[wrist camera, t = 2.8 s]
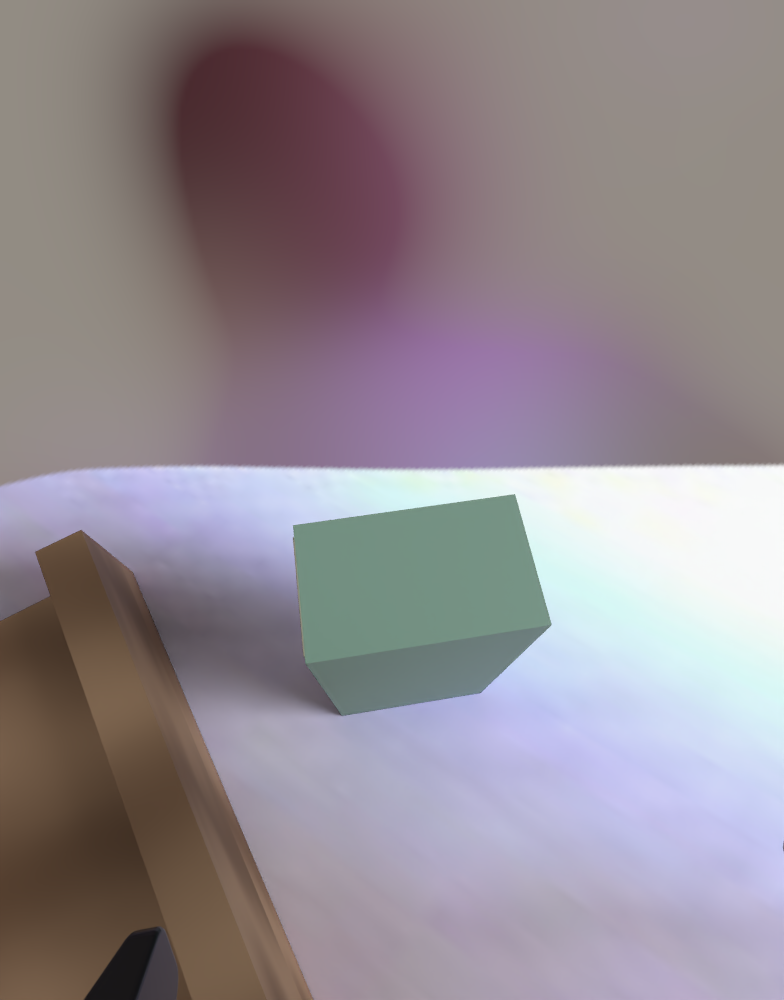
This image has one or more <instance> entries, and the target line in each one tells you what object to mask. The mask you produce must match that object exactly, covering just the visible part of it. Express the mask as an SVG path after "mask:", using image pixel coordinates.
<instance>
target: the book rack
mask: <svg viewBox="0 0 784 1000" xmlns="http://www.w3.org/2000/svg"><path fill="white" fill-rule="evenodd" d="M35 553H36V556H37V559H38V562H39V565H40V567H41V570H42V573H43V576H44V579H45V582H46V585H47V587H48V590H49V593H50V597H48V598H46V599H44V600H42V601H40V602H38V603H36V604H34V605H32V606H30V607H28V608H26V609H24V610H22V611H20V612H18V613H16V614H14V615H12V616H10V617H8V618H6V619H4V620H2V621H0V1000H84V998H85V997H86V995H87V994H88V992H89V991H90V990H91V988H92V987H93V985H94V984H95V982H96V981H97V979H98V978H99V977H100V975H101V974H102V972H103V971H104V969H105V968H106V966H107V965H108V964H109V962H110V961H111V959H112V958H113V956H114V955H115V953H116V952H117V950H118V949H119V948H120V946H121V945H122V943H123V942H124V940H125V939H126V938H127V937H128V936H129V935H130V934H131V933H132V932H134V931H136V930H141V929H146V928H151V927H157V926H161V927H162V928H164V929H165V931H166V934H167V937H168V939H169V942H170V945H171V948H172V951H173V954H174V957H175V960H176V963H177V967H178V991H177V1000H313V998H312V996H311V993H310V991H309V989H308V986H307V984H306V982H305V979H304V977H303V974H302V972H301V970H300V967H299V965H298V963H297V960H296V958H295V956H294V953H293V951H292V948H291V946H290V944H289V941H288V939H287V937H286V934H285V932H284V929H283V927H282V925H281V922H280V920H279V918H278V915H277V913H276V911H275V908H274V906H273V903H272V901H271V899H270V896H269V894H268V892H267V889H266V887H265V885H264V882H263V880H262V877H261V875H260V873H259V870H258V868H257V866H256V863H255V861H254V858H253V856H252V854H251V851H250V849H249V847H248V844H247V842H246V840H245V837H244V835H243V832H242V830H241V828H240V825H239V823H238V821H237V818H236V816H235V814H234V811H233V809H232V806H231V804H230V802H229V799H228V797H227V795H226V792H225V790H224V787H223V785H222V783H221V780H220V778H219V776H218V773H217V771H216V769H215V766H214V764H213V761H212V759H211V757H210V754H209V752H208V750H207V747H206V745H205V743H204V740H203V738H202V735H201V733H200V731H199V728H198V726H197V724H196V721H195V719H194V716H193V714H192V712H191V709H190V707H189V705H188V702H187V700H186V698H185V695H184V693H183V690H182V688H181V686H180V683H179V681H178V679H177V676H176V674H175V671H174V669H173V667H172V664H171V662H170V660H169V657H168V655H167V653H166V650H165V648H164V645H163V643H162V641H161V638H160V636H159V634H158V631H157V629H156V627H155V624H154V622H153V619H152V617H151V615H150V612H149V610H148V608H147V605H146V603H145V600H144V598H143V596H142V593H141V591H140V589H139V586H138V584H137V582H136V579H135V577H134V574H133V572H132V571H131V570H129V569H128V568H127V567H126V566H125V565H123V564H122V563H121V562H120V561H118V560H117V559H116V558H115V557H114V556H112V555H111V554H110V553H109V552H107V551H106V550H105V549H104V548H103V547H101V546H100V545H99V544H98V543H96V542H95V541H94V540H93V539H92V538H90V537H89V536H88V535H87V534H86V533H84V532H83V531H82V530H80V531H78V532H76V533H74V534H72V535H70V536H67V537H65V538H63V539H61V540H59V541H57V542H55V543H53V544H51V545H49V546H47V547H45V548H42V549H40V550H38V551H36V552H35Z"/></svg>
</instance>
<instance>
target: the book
mask: <svg viewBox="0 0 784 1000" xmlns="http://www.w3.org/2000/svg"><path fill="white" fill-rule="evenodd" d="M293 529H294V537H293V544H294V555H295V566H296V578H297V589H298V600H299V611H300V623H301V634H302V645H303V656H304V658H305V663H306V665H307V667H308V668H309V669H310V671H311V672H312V674H313V675H314V677H315V678H316V680H317V681H318V682H319V684H320V685H321V687H322V688H323V690H324V691H325V692H326V694H327V695H328V697H329V698H330V700H331V701H332V702H333V704H334V705H335V707H336V708H337V710H338V711H339V712H340V714H341V715H342V716H344V715H350V714H357V713H363V712H369V711H375V710H381V709H387V708H393V707H399V706H405V705H411V704H417V703H423V702H429V701H435V700H441V699H447V698H453V697H459V696H465V695H471V694H477V693H481V692H482V691H483V690H484V689H485V688H486V687H487V686H488V685H489V684H490V683H491V682H492V681H493V680H494V679H496V678H497V677H498V676H499V675H500V674H501V673H502V672H503V671H504V670H505V669H506V668H507V667H508V666H509V665H510V664H511V663H512V662H513V661H514V660H515V659H516V658H518V657H519V656H520V655H521V654H522V653H523V652H524V651H525V650H526V649H527V648H528V647H529V646H530V645H531V644H532V643H533V642H534V641H535V640H536V639H537V638H538V637H540V636H541V635H542V634H543V633H544V632H545V631H546V630H547V629H548V628H549V627H550V626H551V625H552V624H551V621H550V617H549V614H548V610H547V607H546V603H545V600H544V596H543V592H542V589H541V585H540V582H539V578H538V575H537V571H536V568H535V564H534V560H533V557H532V553H531V550H530V546H529V543H528V539H527V535H526V532H525V528H524V525H523V521H522V518H521V514H520V511H519V507H518V503H517V500H516V496H515V494H514V495H507V496H500V497H492V498H485V499H478V500H471V501H464V502H457V503H450V504H442V505H435V506H428V507H421V508H414V509H407V510H399V511H392V512H385V513H378V514H371V515H364V516H357V517H349V518H342V519H335V520H328V521H321V522H314V523H307V524H299V525H293Z"/></svg>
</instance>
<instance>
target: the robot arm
mask: <svg viewBox="0 0 784 1000" xmlns="http://www.w3.org/2000/svg"><path fill="white" fill-rule="evenodd" d="M783 850H784V843H783ZM177 991H178V967H177V963H176V960H175V957H174V954H173V951H172V948H171V945H170V942H169V939H168V937H167V934H166V931H165V929H164V928H162V927H161V926H157V927H151V928H146V929H141V930H136V931H134V932H132V933H131V934H130V935H129V936H128V937H127V938H126V939H125V940H124V942H123V943H122V945H121V946H120V948H119V949H118V950H117V952H116V953H115V955H114V956H113V958H112V959H111V961H110V962H109V964H108V965H107V966H106V968H105V969H104V971H103V972H102V974H101V975H100V977H99V978H98V979H97V981H96V982H95V984H94V985H93V987H92V988H91V990H90V991H89V992H88V994H87V995H86V997H85V998H84V1000H177Z"/></svg>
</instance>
